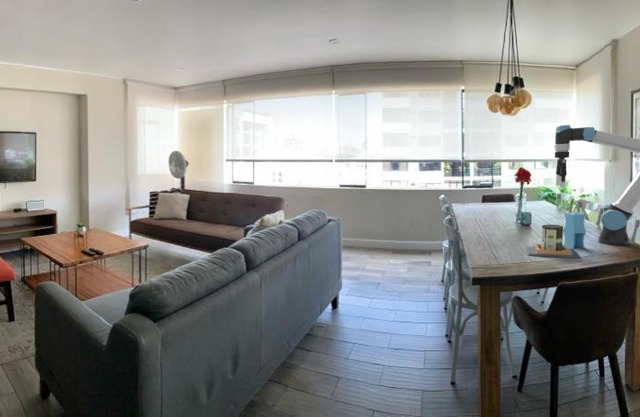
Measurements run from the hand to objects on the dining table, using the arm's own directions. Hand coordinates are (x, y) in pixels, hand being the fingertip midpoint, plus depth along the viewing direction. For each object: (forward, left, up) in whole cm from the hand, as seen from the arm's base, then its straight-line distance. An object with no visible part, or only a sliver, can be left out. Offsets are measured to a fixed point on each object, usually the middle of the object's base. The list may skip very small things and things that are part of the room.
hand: (560, 186), depth 243 cm
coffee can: (+8, +32, -34) cm, 47 cm away
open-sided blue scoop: (-6, +13, -35) cm, 38 cm away
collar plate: (+8, +32, -35) cm, 48 cm away
